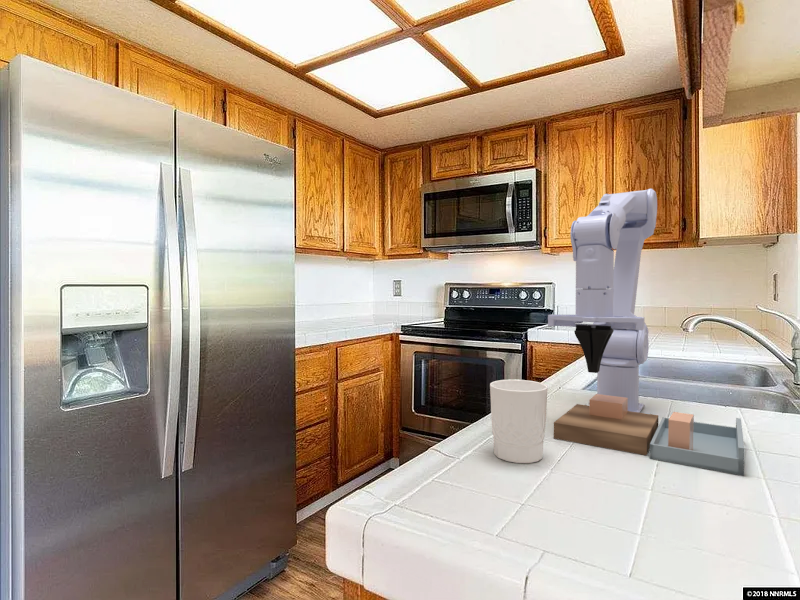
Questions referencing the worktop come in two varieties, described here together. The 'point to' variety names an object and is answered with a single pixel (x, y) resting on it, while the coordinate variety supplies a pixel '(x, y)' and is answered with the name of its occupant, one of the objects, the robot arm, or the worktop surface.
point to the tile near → (681, 430)
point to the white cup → (518, 419)
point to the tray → (704, 447)
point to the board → (607, 430)
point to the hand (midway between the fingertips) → (593, 371)
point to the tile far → (608, 406)
